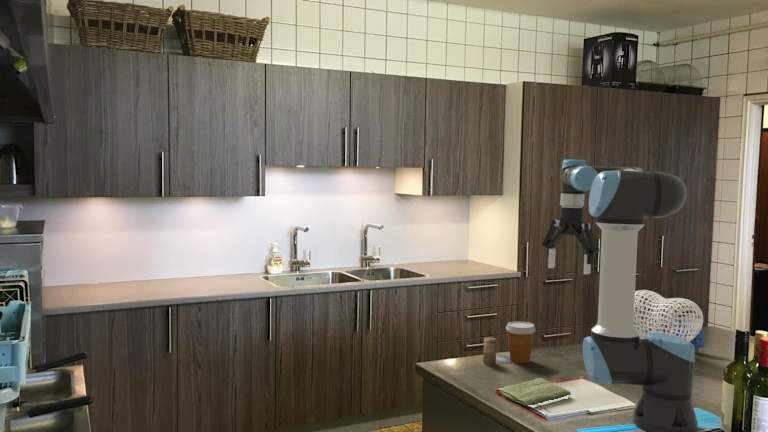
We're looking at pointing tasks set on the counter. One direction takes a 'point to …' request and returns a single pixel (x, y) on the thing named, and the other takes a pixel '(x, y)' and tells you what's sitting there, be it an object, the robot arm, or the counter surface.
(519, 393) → the washcloth
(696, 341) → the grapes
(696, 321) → the heart
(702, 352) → the counter surface
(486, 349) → the walnut peg
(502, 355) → the board
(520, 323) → the disposable coffee cup
